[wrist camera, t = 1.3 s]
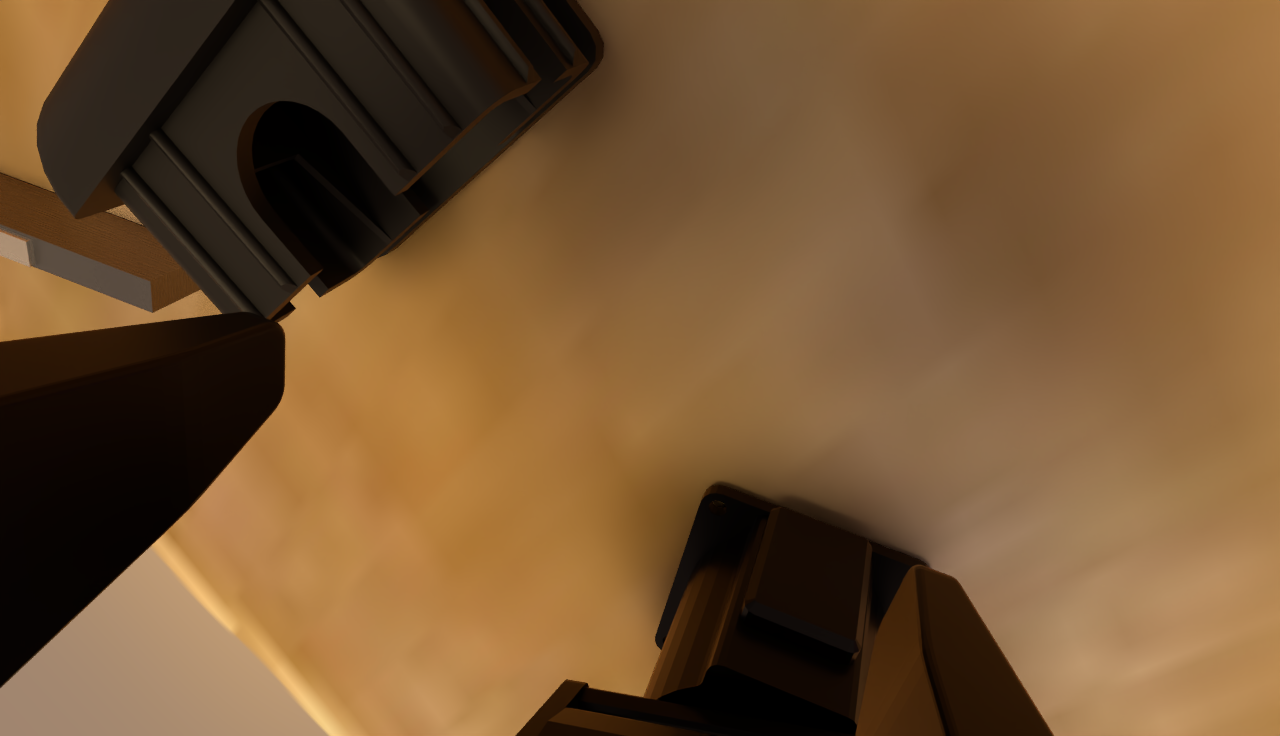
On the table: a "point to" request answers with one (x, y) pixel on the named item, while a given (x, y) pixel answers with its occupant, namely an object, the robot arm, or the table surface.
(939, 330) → the table surface
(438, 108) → the end cap
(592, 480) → the table surface
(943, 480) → the table surface
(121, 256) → the frame
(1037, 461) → the table surface
